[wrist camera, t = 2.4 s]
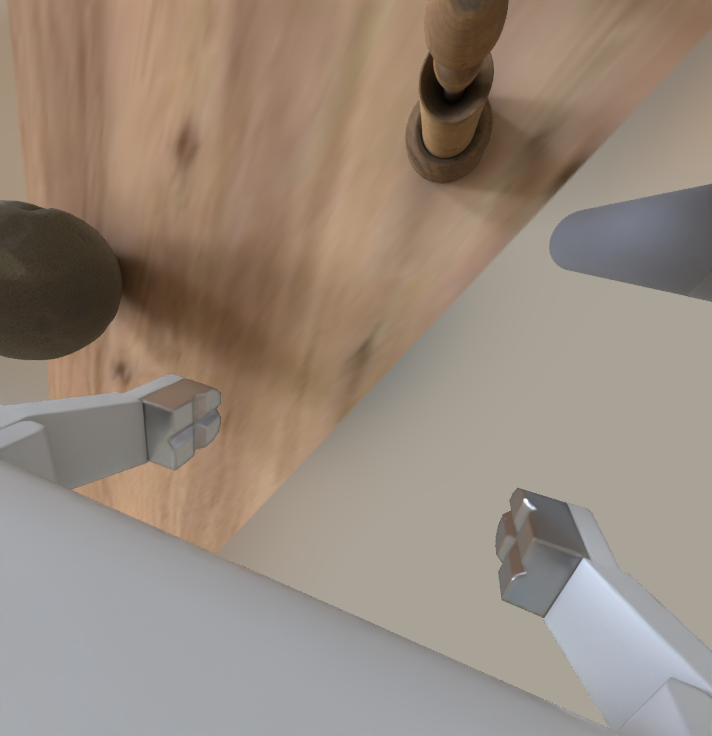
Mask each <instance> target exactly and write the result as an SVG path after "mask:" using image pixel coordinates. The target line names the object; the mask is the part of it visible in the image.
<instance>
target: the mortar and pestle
mask: <svg viewBox="0 0 712 736" xmlns="http://www.w3.org/2000/svg"><path fill="white" fill-rule="evenodd" d="M507 10H508V0H428V3H427V7H426V12H425V21H424V32H425V39H426V43H427V46H428V49H429V53H428V54H427V56H426V58H425V60H424V62H423V65H422V67H421V71H420V75H419V83H418V90H419V100H418V102H417V103H416V105H415V106H414V108H413V110H412V112H411V114H410V117H409V120H408V123H407V128H406V148H407V152H408V156H409V160H410V162H411V164H412V166H413V168H414V169H415V170H416V172H417V173H418V174H419V175H421V176H422V177H423V178H425V179H427V180H429V181H432V182H437V183H446V182H451V181H454V180H457V179H459V178H461V177H463V176H464V175H465V174H467V173H468V172H469V171H470V170H471V169H472V168H473V167H474V166H475V165H476V164H477V163H478V161H479V160H480V158H481V157H482V155H483V153H484V151H485V149H486V147H487V144H488V142H489V139H490V136H491V131H492V110H491V106H490V103H489V100H488V98H487V97H488V95H489V92H490V89H491V86H492V82H493V75H494V67H493V60H492V56H491V53H490V51H491V50H492V49H493V47H494V46H495V44H496V42H497V41H498V39H499V37H500V34H501V32H502V29H503V26H504V23H505V19H506V15H507Z"/></svg>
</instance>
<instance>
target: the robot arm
mask: <svg viewBox="0 0 712 736" xmlns="http://www.w3.org/2000/svg"><path fill="white" fill-rule="evenodd" d="M220 404H221V393H220V392H219V391H218V389H216V388H213V387H210V386H207V385H204V384H202V383H199V382H196V381H193V380H190V379H187V378H185V377H181V376H178V375H175V374H167V375H165V376H162V377H160V378H158V379H155V380H153V381H151V382H149V383H146V384H144V385H142V386H139V387H137V388H135V389H132V390H130V391H128V392H125V393H123V394H120V393H109V394H100V395H91V396H82V397H74V398H65V399H56V400H47V401H39V402H30V403H21V404H12V405H4V406H0V736H712V650H711V649H710V648H708V647H707V646H706V645H705V644H704V643H703V642H702V641H701V640H700V639H699V638H697V636H695V635H694V634H693V633H692V632H691V631H690V630H689V629H688V628H687V627H686V626H685V625H684V624H683V623H682V622H680V621H679V620H678V619H677V618H676V617H675V616H674V615H673V614H672V613H671V612H670V611H669V610H668V609H667V608H666V607H664V606H663V605H662V604H661V603H660V602H659V601H658V600H657V599H656V598H655V597H654V596H653V595H652V594H651V593H649V592H648V591H647V590H646V589H645V588H644V587H643V586H642V585H641V584H640V583H639V582H638V581H636V579H634V578H633V577H632V576H631V575H630V574H628V573H625V572H622V571H621V570H620V568H619V566H618V564H617V562H616V559H615V558H614V556H613V554H612V551H611V550H610V547H609V545H608V543H607V541H606V539H605V537H604V535H603V533H602V531H601V529H600V527H599V526H598V523H597V521H596V519H595V517H594V515H593V513H592V512H591V511H590V510H588V509H587V508H584V507H580V506H577V505H574V504H570V503H567V502H562V501H559V500H556V499H552V498H549V497H546V496H543V495H539V494H536V493H533V492H530V491H526V490H523V489H520V488H517V489H516V490H515V491H514V492H513V494H512V496H511V498H510V506H511V511H509V512H507V513H505V514H503V515H502V518H501V520H500V522H499V525H498V529H497V534H496V554H497V556H498V558H499V559H500V560H501V562H502V563H503V564H502V566H501V568H500V570H499V572H498V573H499V581H500V589H501V598H502V600H503V601H505V602H508V603H510V604H512V605H515V606H517V607H520V608H522V609H524V610H526V611H529V612H532V613H534V614H536V615H538V616H541V617H543V618H544V619H543V620H544V622H545V623H546V625H547V627H548V628H549V630H550V632H551V633H552V635H553V636H554V638H555V640H556V642H557V643H558V645H559V646H560V648H561V650H562V651H563V653H564V655H565V656H566V658H567V659H568V661H569V663H570V664H571V666H572V667H573V669H574V671H575V673H576V674H577V676H578V677H579V679H580V681H581V682H582V684H583V686H584V687H585V689H586V690H587V692H588V694H589V696H590V697H591V699H592V700H593V702H594V704H595V705H596V707H597V708H598V710H599V712H600V714H601V715H602V717H603V718H604V720H605V722H606V723H607V725H608V727H609V728H608V727H605V726H603V725H601V724H598V723H596V722H594V721H592V720H590V719H587V718H585V717H583V716H581V715H578V714H576V713H574V712H572V711H569V710H567V709H565V708H562V707H560V706H558V705H556V704H553V703H551V702H549V701H547V700H544V699H542V698H540V697H538V696H535V695H533V694H531V693H528V692H526V691H524V690H522V689H519V688H517V687H515V686H513V685H510V684H508V683H506V682H504V681H502V680H499V679H497V678H495V677H493V676H490V675H488V674H486V673H483V672H481V671H479V670H477V669H474V668H472V667H470V666H468V665H465V664H463V663H461V662H459V661H456V660H454V659H452V658H450V657H447V656H445V655H443V654H441V653H438V652H436V651H434V650H432V649H429V648H427V647H425V646H422V645H420V644H418V643H416V642H413V641H411V640H409V639H407V638H404V637H402V636H400V635H398V634H395V633H393V632H391V631H389V630H386V629H384V628H382V627H379V626H377V625H375V624H373V623H370V622H368V621H366V620H364V619H361V618H359V617H357V616H355V615H352V614H350V613H348V612H346V611H343V610H341V609H339V608H337V607H334V606H332V605H330V604H328V603H325V602H323V601H321V600H318V599H316V598H314V597H312V596H310V595H307V594H305V593H303V592H301V591H298V590H296V589H293V588H291V587H289V586H287V585H285V584H282V583H280V582H278V581H275V580H273V579H271V578H269V577H267V576H264V575H262V574H260V573H258V572H255V571H253V570H251V569H249V568H246V567H244V566H242V565H239V564H237V563H235V562H233V561H230V560H228V559H226V558H224V557H221V556H219V555H217V554H215V553H212V552H210V551H208V550H206V549H203V548H201V547H199V546H197V545H194V544H192V543H190V542H188V541H185V540H183V539H181V538H179V537H176V536H174V535H172V534H169V533H167V532H165V531H163V530H160V529H158V528H156V527H154V526H151V525H149V524H147V523H145V522H142V521H140V520H138V519H136V518H133V517H131V516H129V515H127V514H124V513H122V512H120V511H118V510H115V509H113V508H111V507H109V506H106V505H104V504H102V503H100V502H97V501H95V500H93V499H90V498H88V497H86V496H84V495H81V494H79V493H77V492H75V491H72V490H71V489H74V488H77V487H80V486H83V485H85V484H88V483H91V482H94V481H97V480H99V479H102V478H105V477H108V476H111V475H114V474H116V473H119V472H122V471H125V470H128V469H131V468H133V467H136V466H139V465H142V464H145V463H147V462H148V461H149V462H152V463H155V464H158V465H161V466H163V467H166V468H169V469H172V470H174V471H176V470H177V469H178V468H179V467H181V466H182V465H183V464H185V463H186V462H187V461H188V460H190V459H191V458H192V457H194V453H195V450H196V449H200V448H204V447H206V446H207V445H209V444H210V443H211V442H212V441H213V440H214V438H215V437H216V435H217V434H218V432H219V428H220V425H221V416H220V414H219V413H218V411H217V409H216V408H217V407H218V406H219V405H220Z"/></svg>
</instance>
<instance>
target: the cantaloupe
mask: <svg viewBox="0 0 712 736" xmlns="http://www.w3.org/2000/svg"><path fill="white" fill-rule="evenodd" d="M121 293H122V276H121V270H120V266H119V263H118V260H117V258H116V256H115V254H114V253H113V251H112V249H111V248H110V246H109V244H108V243H107V242H106V240H105V239H104V238H103V237H102V236H101V235H100V234H99V233H98V232H97V231H96V230H95V229H94V228H93V227H92V226H90V225H89V224H87V223H86V222H85V221H83V220H81V219H79V218H77V217H75V216H74V215H72V214H70V213H67V212H65V211H61V210H58V209H53V208H50V209H45V208H42V207H38V206H36V205H33V204H29V203H25V202H20V201H0V356H4V357H8V358H14V359H22V360H49V359H55V358H59V357H63V356H66V355H69V354H71V353H73V352H75V351H78V350H80V349H82V348H83V347H85V346H87V345H88V344H90V343H92V342H93V341H95V340H96V339H97V338H98V337H99V336H100V335H101V334H102V333H103V332H104V331H105V330H106V328H107V327H108V325H109V324H110V323H111V321H112V320H113V319H114V317H115V315H116V313H117V310H118V307H119V303H120V298H121Z"/></svg>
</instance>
